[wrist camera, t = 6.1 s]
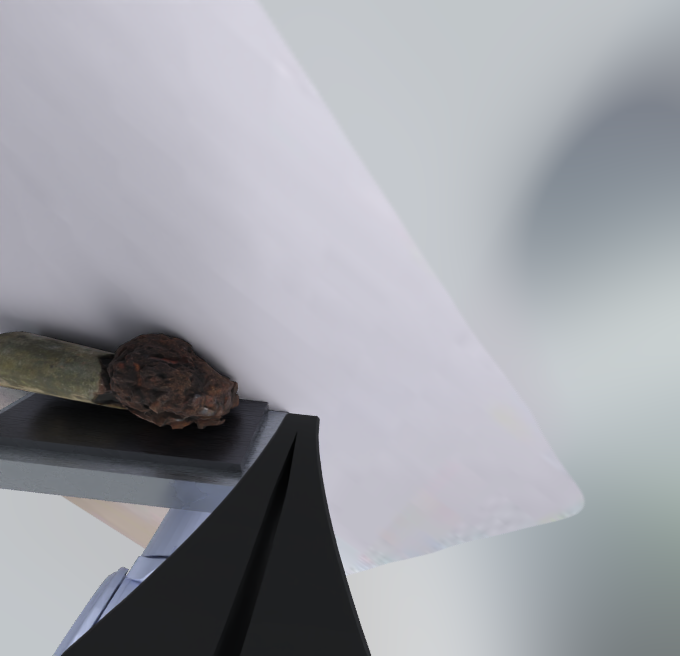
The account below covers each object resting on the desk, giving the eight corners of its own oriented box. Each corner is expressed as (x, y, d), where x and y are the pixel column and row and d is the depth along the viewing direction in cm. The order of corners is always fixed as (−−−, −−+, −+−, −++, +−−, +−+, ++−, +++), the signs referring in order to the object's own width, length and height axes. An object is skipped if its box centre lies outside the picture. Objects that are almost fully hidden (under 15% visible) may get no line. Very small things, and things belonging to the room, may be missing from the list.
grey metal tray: (289, 440, 25) (266, 519, 19) (61, 414, 25) (-36, 484, 19) (288, 405, 22) (263, 481, 16) (38, 377, 23) (-82, 442, 16)
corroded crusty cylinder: (57, 366, 22) (-30, 412, 17) (28, 299, 19) (-88, 332, 14) (244, 401, 23) (213, 456, 18) (245, 342, 20) (207, 387, 15)
